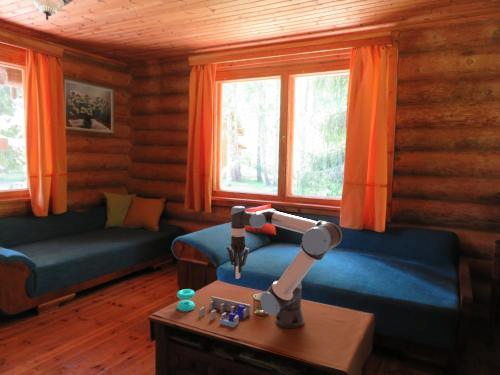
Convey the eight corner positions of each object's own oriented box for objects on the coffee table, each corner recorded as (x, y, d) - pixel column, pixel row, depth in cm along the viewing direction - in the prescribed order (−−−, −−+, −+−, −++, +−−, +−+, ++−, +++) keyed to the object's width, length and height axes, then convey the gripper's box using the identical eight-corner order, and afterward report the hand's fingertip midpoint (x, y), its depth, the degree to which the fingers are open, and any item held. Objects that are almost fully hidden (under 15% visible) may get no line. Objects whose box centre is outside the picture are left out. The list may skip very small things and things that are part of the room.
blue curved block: (237, 314, 202) (237, 304, 202) (244, 316, 200) (244, 306, 200) (226, 323, 192) (226, 313, 191) (233, 325, 190) (233, 314, 189)
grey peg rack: (250, 315, 202) (250, 304, 201) (236, 328, 187) (236, 316, 186) (212, 306, 213) (212, 296, 212) (196, 317, 198) (196, 306, 197)
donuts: (185, 296, 201) (173, 292, 207) (185, 314, 202) (173, 309, 208) (198, 291, 209) (186, 286, 215) (198, 307, 210) (186, 303, 216)
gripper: (252, 234, 196) (251, 277, 199) (230, 232, 201) (230, 274, 204) (246, 238, 189) (246, 282, 192) (224, 235, 195) (224, 278, 197)
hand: (237, 277), depth 198 cm, fingers closed
